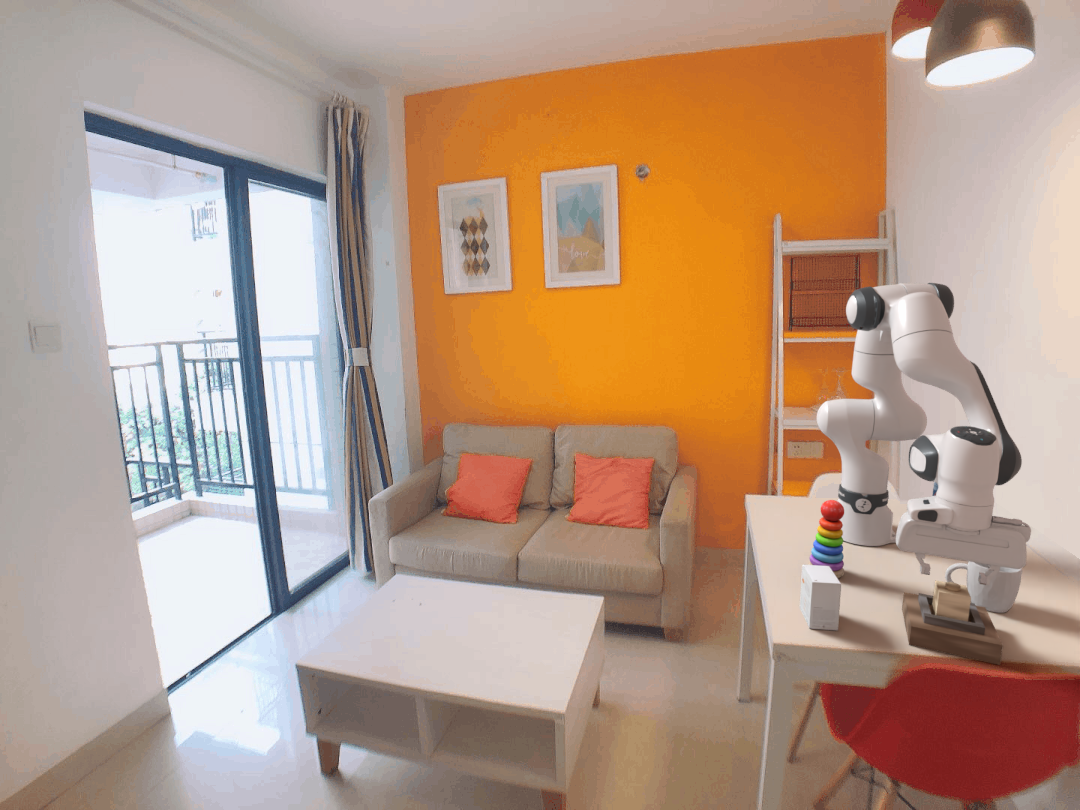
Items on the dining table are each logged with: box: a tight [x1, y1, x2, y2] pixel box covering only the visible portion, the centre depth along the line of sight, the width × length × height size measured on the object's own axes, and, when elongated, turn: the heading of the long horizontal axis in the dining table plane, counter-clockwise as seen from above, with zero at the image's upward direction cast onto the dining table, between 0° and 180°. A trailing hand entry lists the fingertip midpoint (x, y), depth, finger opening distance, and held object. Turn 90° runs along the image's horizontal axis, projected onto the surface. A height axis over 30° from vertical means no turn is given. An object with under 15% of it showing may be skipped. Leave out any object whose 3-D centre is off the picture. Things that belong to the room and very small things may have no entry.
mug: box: [944, 561, 1023, 614], centre depth 121 cm, size 13×9×10 cm
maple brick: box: [932, 580, 972, 621], centre depth 110 cm, size 5×5×7 cm
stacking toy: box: [807, 499, 845, 579], centre depth 135 cm, size 8×8×19 cm
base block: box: [901, 591, 1004, 666], centre depth 111 cm, size 14×14×6 cm
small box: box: [799, 564, 842, 631], centre depth 116 cm, size 8×6×10 cm
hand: (953, 578), depth 109 cm, fingers open, 8 cm apart
